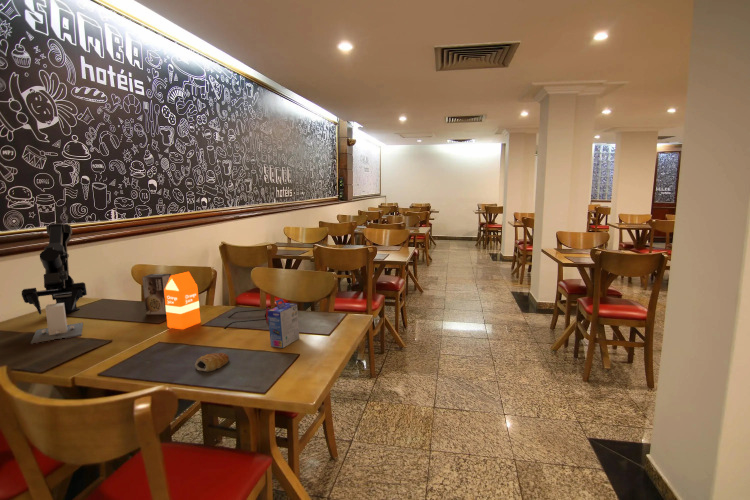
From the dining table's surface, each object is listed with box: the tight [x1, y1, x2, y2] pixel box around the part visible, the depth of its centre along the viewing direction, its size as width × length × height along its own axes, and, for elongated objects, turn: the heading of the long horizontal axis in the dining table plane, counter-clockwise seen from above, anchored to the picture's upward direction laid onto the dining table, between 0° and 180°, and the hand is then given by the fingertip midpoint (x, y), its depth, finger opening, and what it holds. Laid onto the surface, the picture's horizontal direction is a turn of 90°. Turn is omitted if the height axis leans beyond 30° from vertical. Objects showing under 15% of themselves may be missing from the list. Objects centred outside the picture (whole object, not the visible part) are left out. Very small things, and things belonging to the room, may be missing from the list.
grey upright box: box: [142, 273, 172, 315], centre depth 173 cm, size 9×6×16 cm
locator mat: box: [30, 322, 84, 344], centre depth 150 cm, size 16×14×1 cm
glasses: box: [223, 304, 271, 330], centre depth 160 cm, size 14×16×5 cm
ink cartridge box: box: [267, 298, 300, 349], centre depth 136 cm, size 10×6×14 cm, turn 158°
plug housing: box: [44, 303, 68, 335], centre depth 149 cm, size 5×5×10 cm
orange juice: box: [164, 271, 201, 330], centre depth 156 cm, size 8×9×20 cm
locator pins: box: [42, 325, 74, 336], centre depth 148 cm, size 5×9×2 cm, turn 123°
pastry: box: [194, 352, 230, 372], centre depth 120 cm, size 9×7×4 cm
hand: (56, 311), depth 150 cm, fingers open, 9 cm apart
